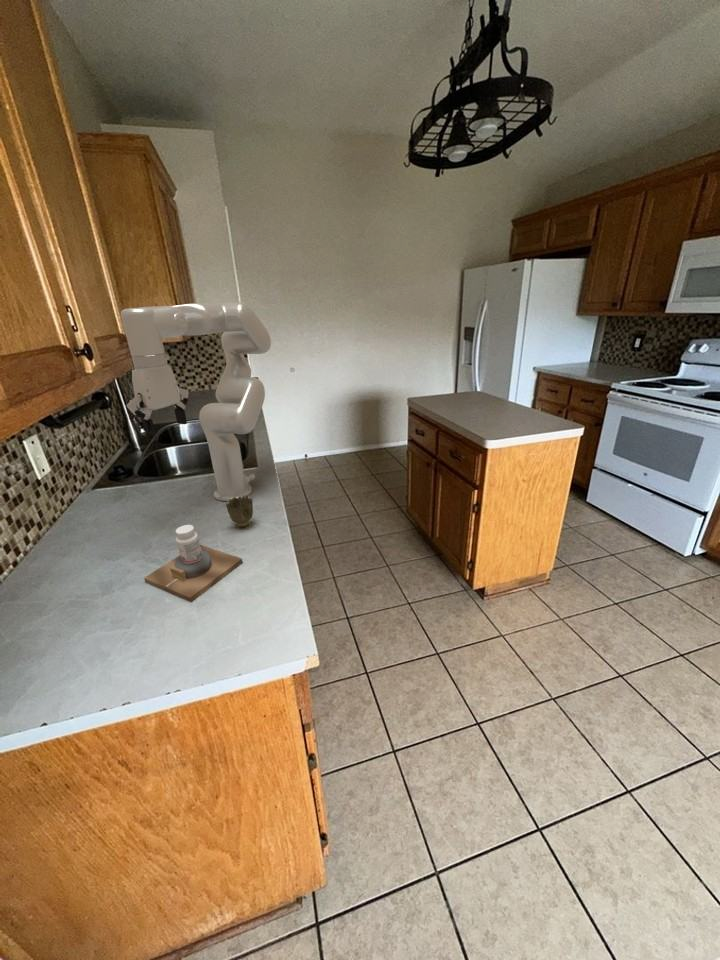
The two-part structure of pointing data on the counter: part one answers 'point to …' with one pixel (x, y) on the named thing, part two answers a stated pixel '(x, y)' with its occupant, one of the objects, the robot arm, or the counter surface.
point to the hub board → (198, 582)
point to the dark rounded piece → (240, 510)
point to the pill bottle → (188, 544)
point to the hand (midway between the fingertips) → (167, 428)
